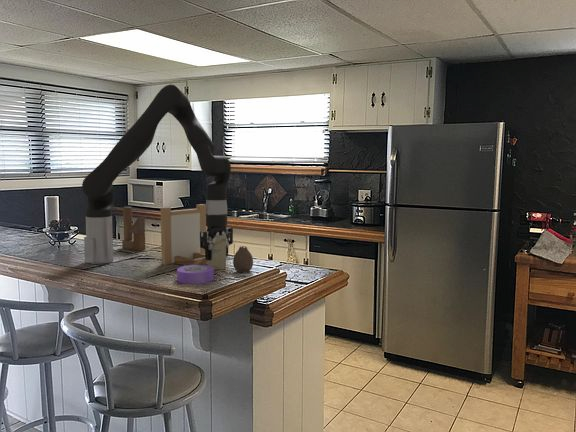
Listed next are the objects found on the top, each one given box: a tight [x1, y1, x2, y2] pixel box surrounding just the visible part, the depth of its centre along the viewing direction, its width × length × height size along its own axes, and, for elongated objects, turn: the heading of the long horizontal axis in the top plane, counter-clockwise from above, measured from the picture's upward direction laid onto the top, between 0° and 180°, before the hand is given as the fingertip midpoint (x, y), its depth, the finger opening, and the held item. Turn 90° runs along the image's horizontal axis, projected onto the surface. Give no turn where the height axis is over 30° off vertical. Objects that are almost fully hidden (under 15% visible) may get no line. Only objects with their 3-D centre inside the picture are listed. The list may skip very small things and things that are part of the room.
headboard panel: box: [160, 203, 207, 266], centre depth 189 cm, size 20×3×21 cm, turn 141°
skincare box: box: [207, 234, 227, 270], centre depth 177 cm, size 6×4×12 cm
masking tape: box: [176, 264, 215, 285], centre depth 160 cm, size 12×12×4 cm
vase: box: [232, 245, 254, 273], centre depth 172 cm, size 7×7×9 cm
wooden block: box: [121, 206, 146, 251], centre depth 213 cm, size 4×11×18 cm, turn 58°
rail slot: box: [174, 253, 208, 266], centre depth 186 cm, size 10×11×2 cm
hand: (216, 258), depth 177 cm, fingers closed on skincare box, 7 cm apart
